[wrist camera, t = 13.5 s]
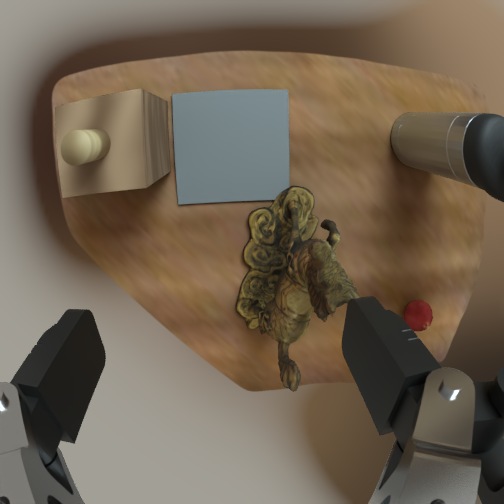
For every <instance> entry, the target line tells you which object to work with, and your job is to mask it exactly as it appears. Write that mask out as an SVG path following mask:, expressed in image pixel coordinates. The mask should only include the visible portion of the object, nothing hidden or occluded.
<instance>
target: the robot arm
mask: <svg viewBox="0 0 504 504" xmlns="http://www.w3.org/2000/svg"><path fill="white" fill-rule="evenodd" d="M391 144H392V148H393V151H394V153H395V155H396V156H397V158H398V159H399V160H400V161H401V162H402V163H403V164H405V165H406V166H409V167H412V168H416V169H419V170H423V171H426V172H430V173H433V174H436V175H440V176H443V177H446V178H450V179H453V180H456V181H459V182H462V183H465V184H469V185H472V186H474V187H477V188H480V189H483V190H485V191H486V192H487V193H488V194H489V195H491V196H492V197H494V198H495V199H498V200H500V201H502V202H504V117H502V116H500V115H496V114H487V113H462V112H411V113H406V114H403V115H402V116H400V117H399V118H398V119H397V120H396V122H395V123H394V125H393V128H392V132H391ZM342 351H343V355H344V358H345V360H346V362H347V365H348V367H349V369H350V371H351V373H352V375H353V377H354V379H355V382H356V384H357V386H358V388H359V390H360V392H361V395H362V397H363V399H364V401H365V403H366V406H367V408H368V410H369V412H370V414H371V416H372V419H373V421H374V423H375V426H376V428H377V430H378V432H379V435H383V434H387V433H390V432H394V434H395V436H396V440H395V442H394V444H393V447H392V449H391V452H390V455H389V458H388V460H387V463H386V465H385V468H384V470H383V473H382V475H381V478H380V480H379V483H378V485H377V487H376V490H375V492H374V494H373V496H372V498H371V500H370V501H369V503H368V504H475V501H476V496H477V493H478V495H479V497H480V500H481V502H482V504H504V439H503V437H504V367H502V368H501V369H500V371H499V372H498V374H497V376H496V377H495V379H494V381H490V382H475V383H473V382H472V380H471V379H470V378H469V377H468V376H467V375H466V374H464V373H463V372H461V371H459V370H456V369H453V368H442V367H441V366H440V365H439V363H438V362H437V361H436V359H435V358H434V357H433V355H432V354H431V353H430V352H429V350H428V349H427V348H426V347H425V345H424V344H423V343H422V341H421V340H420V339H418V338H417V335H416V334H415V333H414V331H413V330H411V328H410V327H409V325H408V324H407V323H406V322H405V320H404V319H403V318H402V317H400V316H399V315H397V314H395V313H394V312H392V311H391V310H385V309H384V308H383V306H382V305H381V304H380V303H379V301H378V300H377V299H376V298H375V297H374V296H370V297H361V298H352V299H350V300H349V302H348V306H347V312H346V319H345V325H344V331H343V337H342ZM105 357H106V356H105V350H104V346H103V344H102V341H101V338H100V334H99V332H98V329H97V325H96V323H95V319H94V316H93V314H92V312H91V311H90V310H79V309H69V310H67V311H66V312H65V313H64V314H63V316H62V317H61V319H60V320H59V321H58V323H57V324H55V325H54V326H52V327H51V328H50V329H48V330H47V331H46V332H45V333H44V334H43V335H42V336H41V338H40V339H39V341H38V342H37V345H35V346H34V348H33V349H32V351H31V353H30V354H29V355H28V356H27V358H26V359H25V361H24V362H23V364H22V365H21V367H20V368H19V370H18V371H17V373H16V374H15V376H14V378H13V379H12V381H11V382H10V383H7V382H0V504H85V503H84V502H83V500H82V498H81V496H80V494H79V492H78V490H77V488H76V486H75V484H74V481H73V479H72V477H71V475H70V472H69V470H68V468H67V465H66V463H65V460H64V457H63V455H62V452H61V450H60V449H59V448H58V445H59V443H60V440H61V441H66V442H70V443H75V441H76V438H77V435H78V432H79V429H80V427H81V424H82V421H83V419H84V416H85V413H86V411H87V408H88V405H89V403H90V400H91V398H92V395H93V393H94V390H95V388H96V385H97V383H98V381H99V378H100V376H101V373H102V371H103V368H104V366H105V359H106V358H105Z"/></svg>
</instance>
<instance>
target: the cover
mask: <svg viewBox="0 0 504 504" xmlns="http://www.w3.org/2000/svg"><path fill="white" fill-rule="evenodd" d="M55 126H56V144H57V156H58V166H59V175H60V184H61V191H62V198H66V197H73V196H80V195H88V194H96V193H104V192H112V191H121V190H131V189H141V188H147V187H149V186H150V185H152V184H153V183H154V182H156V181H157V180H159V179H160V178H162V177H163V176H165V175H166V174H168V173H169V172H170V171H171V167H170V151H169V132H168V105H167V101H166V100H164V99H162V98H160V97H158V96H156V95H154V94H152V93H150V92H148V91H146V90H143V89H134V90H128V91H123V92H117V93H112V94H107V95H102V96H98V97H93V98H89V99H85V100H80V101H76V102H72V103H69V104H65V105H61V106H58V107H55Z"/></svg>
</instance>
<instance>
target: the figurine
mask: <svg viewBox="0 0 504 504" xmlns="http://www.w3.org/2000/svg"><path fill="white" fill-rule="evenodd" d="M313 207H314V196H313V194H312V193H311V192H310V191H309V190H308V189H306V188H304V187H299V186H291V187H289V188H287V189H285V190H284V191H282V192H281V193H280V194H279V195H278V196H277V197H276V199H275V201H274V202H273V204H272V205H271V207H269V208H267V207H263V208H259V209H256V210H254V211H252V212H251V213H250V215H249V218H248V224H249V227H250V231H251V233H250V235H251V237H250V240H249V242H248V243H247V244H246V246H245V247H244V250H243V258H244V261H245V262H246V263H247V264H248V265H249V266H250V270H249V271H248V273H247V274H246V276H245V277H244V279H243V281H242V284H241V287H240V292H239V296H238V299H237V303H236V310H237V312H238V313H239V314H240V315H241V316H243V317H245V320H246V323H247V327H248V328H250V329H255V328H256V327H257V326H259V328H260V332H261V334H264V333H265V332H267V334H268V335H270V336H271V337H272V338H273V339H275V340H276V341H278V342H279V344H278V359H279V362H278V364H279V368H280V372H281V373H280V378H281V381H282V382H283V384H284V387H286V388H289V389H290V390H292V391H296V390H297V388H298V385H299V382H300V377H301V375H300V371H299V369H298V367H297V365H296V364H295V362H294V361H293V360H291V359H289V357H288V347H289V345H290V344H291V343H293V342H295V341H297V340H299V339H300V338H301V337H302V336H303V335H304V333H305V332H306V330H307V327H308V324H309V321H310V317H311V314H312V312H313V310H314V312H315V313H316V314H317V316H318V318H320V319H322V320H323V321H324V322H325V321H326V320H327V316H328V315H329V314H331V315H332V317H333V314H334V313H335V310H336V307H339V306H341V305H343V304H344V303H348V302H349V300H350V299H352V298H360V297H359V294H358V292H357V290H356V288H355V287H354V285H353V283H352V281H351V280H350V279H348V276H347V274H346V273H345V271H344V269H343V268H342V267H341V265H340V263H339V262H337V259H336V253H335V252H334V250H335V248H336V246H337V245H338V243H339V240H340V238H341V237H340V233H339V232H338V230H337V228H336V224H335V222H333V221H330V220H327V219H326V220H324V221H323V222H322V223H321V227H322V228H324V229H327V230H328V231H330V233H329V236H328V238H327V240H323V239H310V238H311V237H312V235H313V234H314V232H315V230H316V228H317V225H318V218H317V217H316V216H313V215H312V214H311V211H312V209H313Z"/></svg>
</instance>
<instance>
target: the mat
mask: <svg viewBox="0 0 504 504" xmlns="http://www.w3.org/2000/svg"><path fill="white" fill-rule="evenodd" d="M172 104H173V131H174V151H175V168H176V182H177V195H178V205H179V204H194V203H211V202H231V201H255V200H275V199H276V197H277V196H278V195H279V194H280V193H281V192H282V191H284V190H285V189H287V188H289V105H288V90H267V89H255V90H220V91H203V92H191V93H180V94H172Z"/></svg>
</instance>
